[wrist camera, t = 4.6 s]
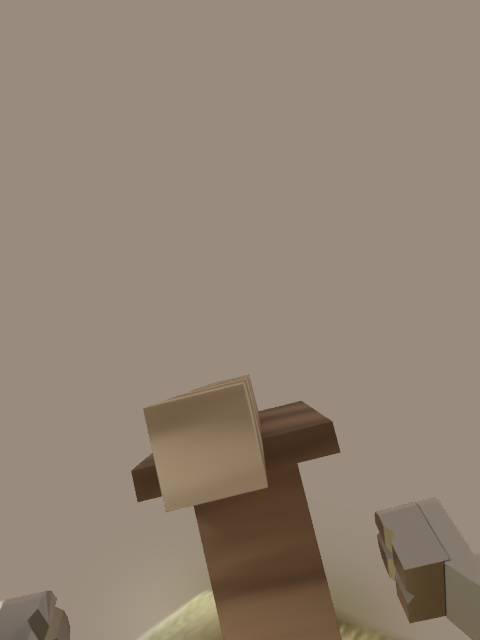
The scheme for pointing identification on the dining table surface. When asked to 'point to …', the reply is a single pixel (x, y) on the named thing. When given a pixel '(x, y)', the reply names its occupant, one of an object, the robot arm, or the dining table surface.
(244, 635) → the stand
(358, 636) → the dining table surface
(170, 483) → the bar
